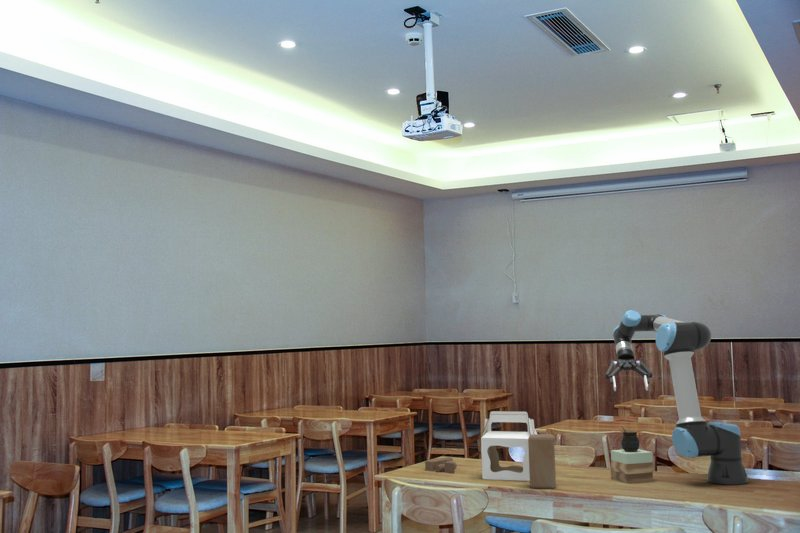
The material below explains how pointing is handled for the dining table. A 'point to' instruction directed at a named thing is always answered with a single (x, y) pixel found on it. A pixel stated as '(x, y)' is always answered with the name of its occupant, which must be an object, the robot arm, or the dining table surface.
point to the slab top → (631, 456)
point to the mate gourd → (630, 441)
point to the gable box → (505, 439)
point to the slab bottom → (632, 477)
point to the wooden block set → (441, 465)
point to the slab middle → (632, 467)
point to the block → (542, 461)
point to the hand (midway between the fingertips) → (631, 388)
